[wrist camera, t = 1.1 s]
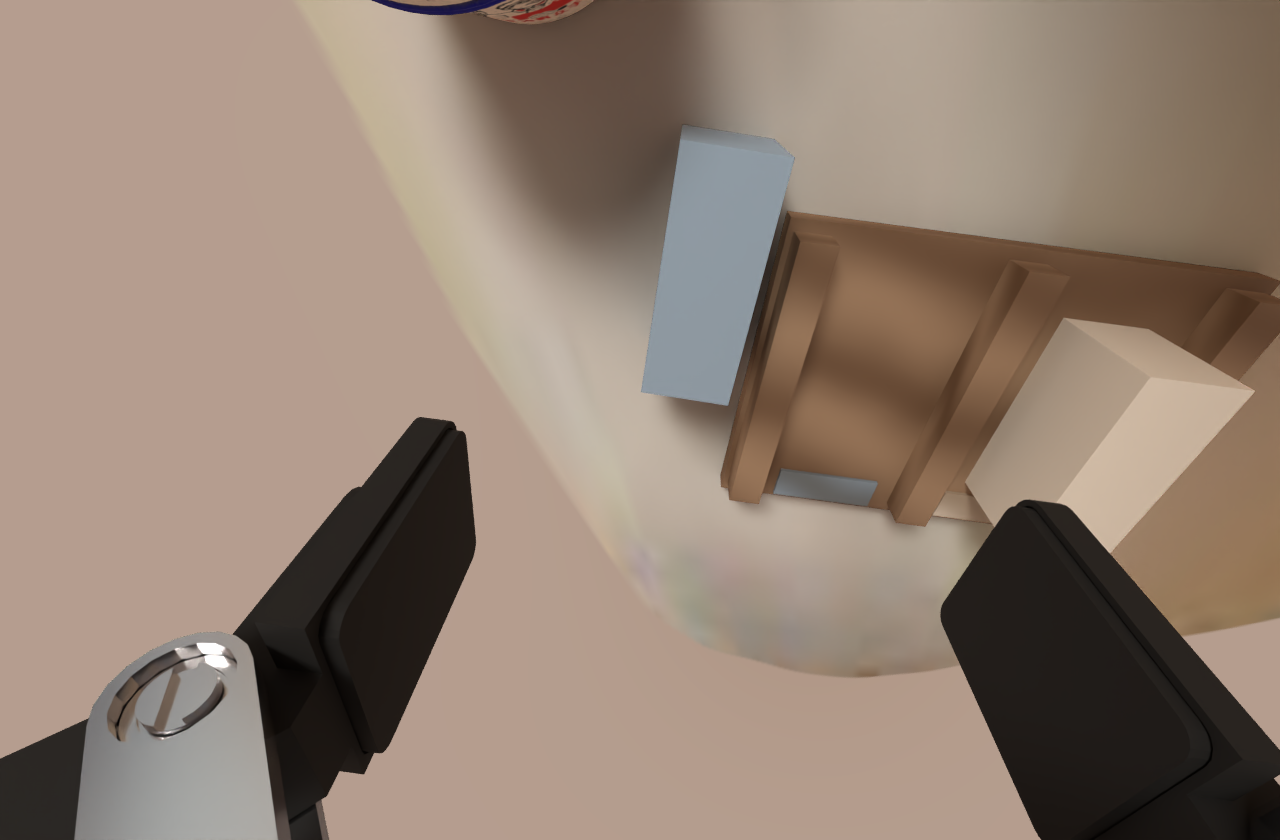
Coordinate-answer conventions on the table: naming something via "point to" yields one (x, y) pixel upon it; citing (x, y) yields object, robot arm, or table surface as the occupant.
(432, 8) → the teacup with lid
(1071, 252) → the slot rack
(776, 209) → the blue stub
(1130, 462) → the ivory stub
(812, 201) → the table surface
